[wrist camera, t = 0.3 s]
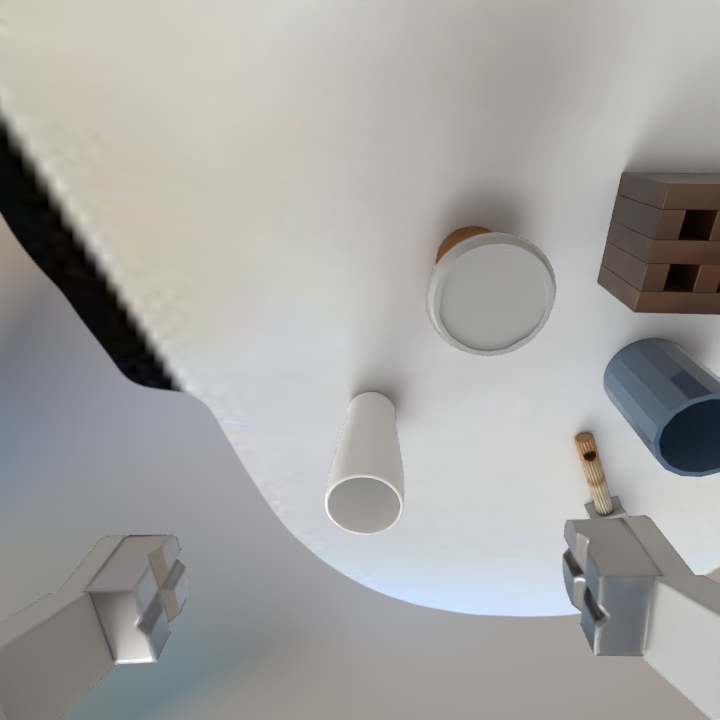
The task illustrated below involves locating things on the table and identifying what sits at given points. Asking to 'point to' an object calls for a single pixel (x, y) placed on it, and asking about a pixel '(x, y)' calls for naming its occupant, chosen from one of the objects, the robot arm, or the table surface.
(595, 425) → the table surface
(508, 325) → the disposable coffee cup
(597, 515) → the grey and wooden tool
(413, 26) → the table surface
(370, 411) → the drinking glass
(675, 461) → the tumbler
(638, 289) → the caddy
